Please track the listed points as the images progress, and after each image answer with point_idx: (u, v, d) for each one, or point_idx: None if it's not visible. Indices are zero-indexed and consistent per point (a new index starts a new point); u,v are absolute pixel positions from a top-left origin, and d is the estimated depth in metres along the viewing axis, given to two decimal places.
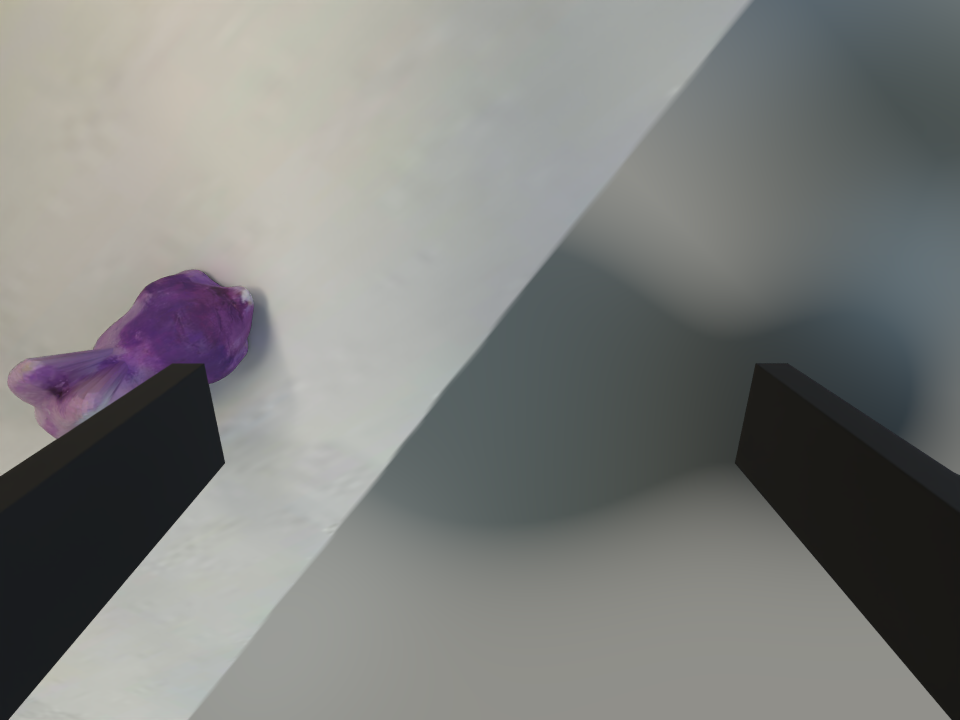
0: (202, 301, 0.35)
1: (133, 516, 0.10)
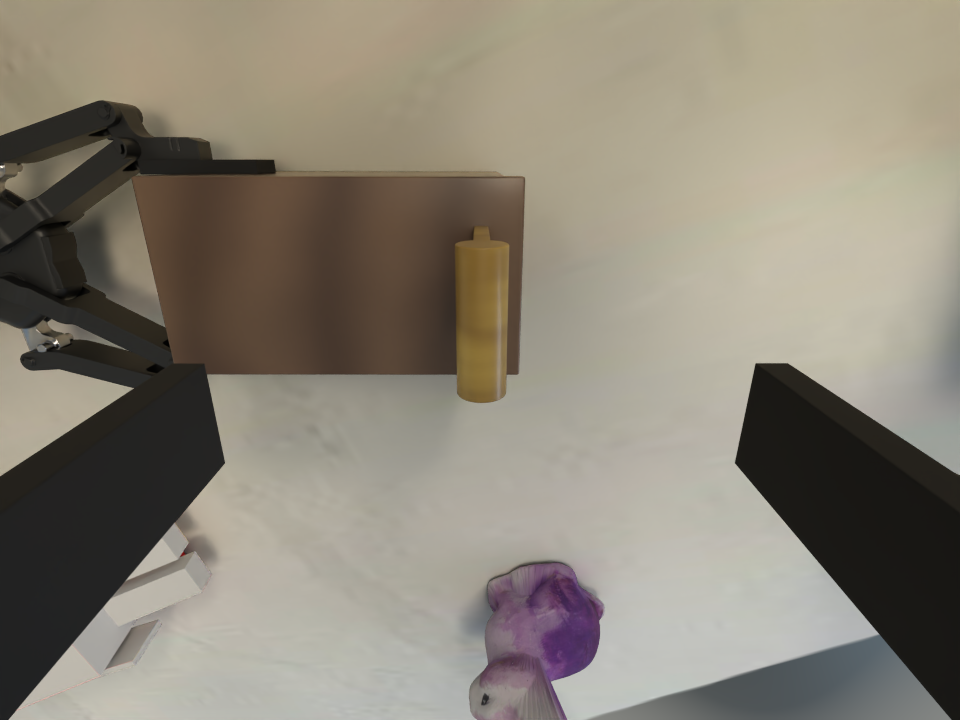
0: (596, 629, 0.44)
1: (133, 516, 0.10)
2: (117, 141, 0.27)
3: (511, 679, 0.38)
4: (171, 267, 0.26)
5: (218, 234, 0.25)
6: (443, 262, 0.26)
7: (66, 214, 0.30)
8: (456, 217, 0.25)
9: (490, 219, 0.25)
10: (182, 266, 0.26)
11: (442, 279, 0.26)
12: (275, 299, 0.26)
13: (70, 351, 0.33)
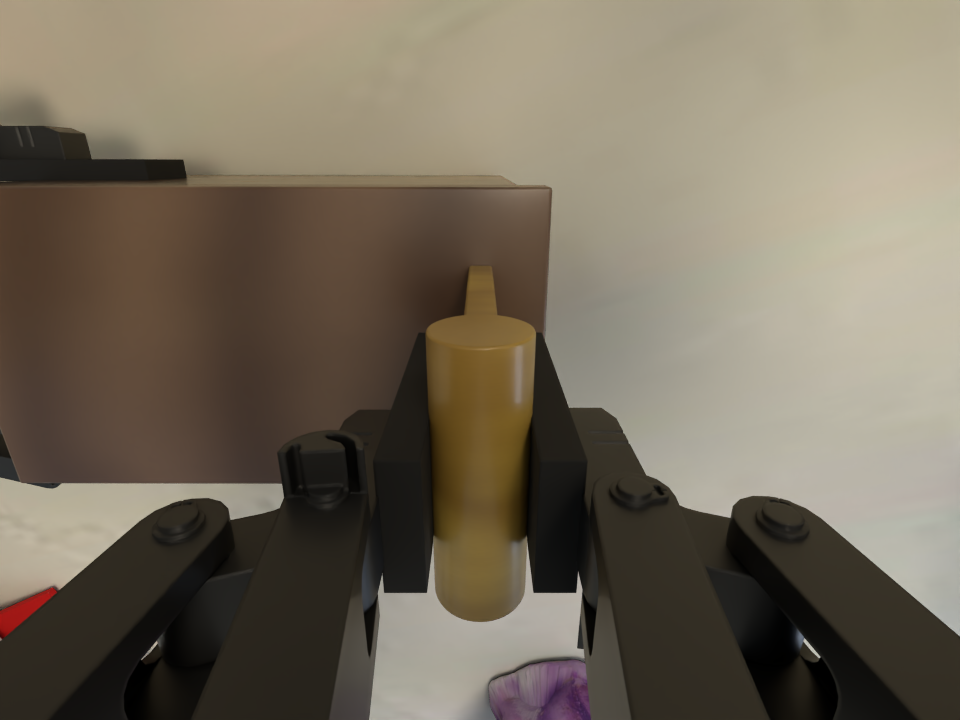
0: None
1: None
2: None
3: None
4: None
5: (61, 278, 0.16)
6: (420, 321, 0.16)
7: None
8: (440, 251, 0.15)
9: (495, 254, 0.15)
10: (9, 327, 0.16)
11: None
12: (160, 376, 0.17)
13: None
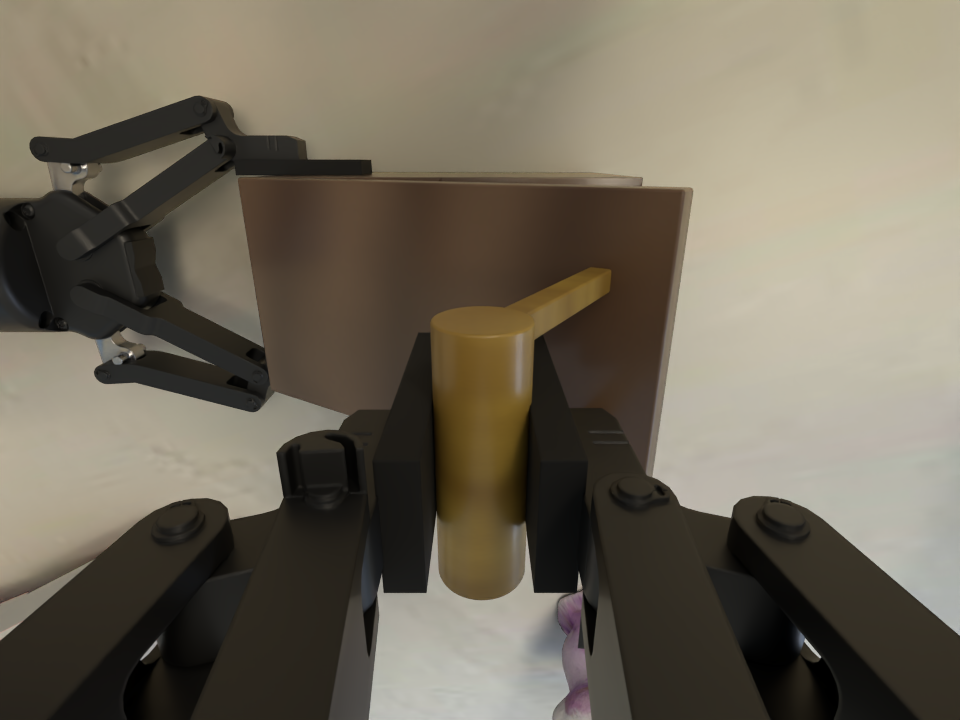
0: None
1: None
2: (215, 139, 0.25)
3: None
4: (266, 278, 0.23)
5: (302, 246, 0.21)
6: None
7: (150, 218, 0.28)
8: (563, 250, 0.16)
9: (616, 258, 0.15)
10: (274, 278, 0.23)
11: None
12: (349, 330, 0.21)
13: (147, 363, 0.31)
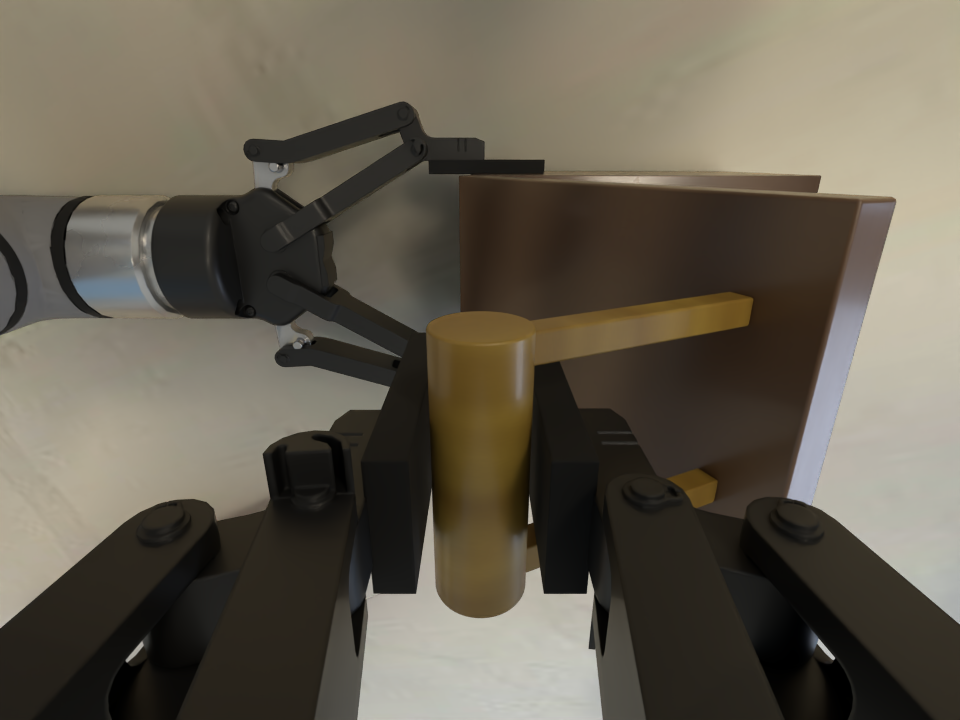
0: None
1: (430, 451, 0.12)
2: (418, 141, 0.28)
3: None
4: (467, 267, 0.26)
5: (492, 241, 0.23)
6: (672, 342, 0.14)
7: (338, 213, 0.31)
8: (704, 267, 0.13)
9: (762, 284, 0.11)
10: (472, 268, 0.25)
11: (665, 370, 0.15)
12: None
13: (322, 348, 0.33)
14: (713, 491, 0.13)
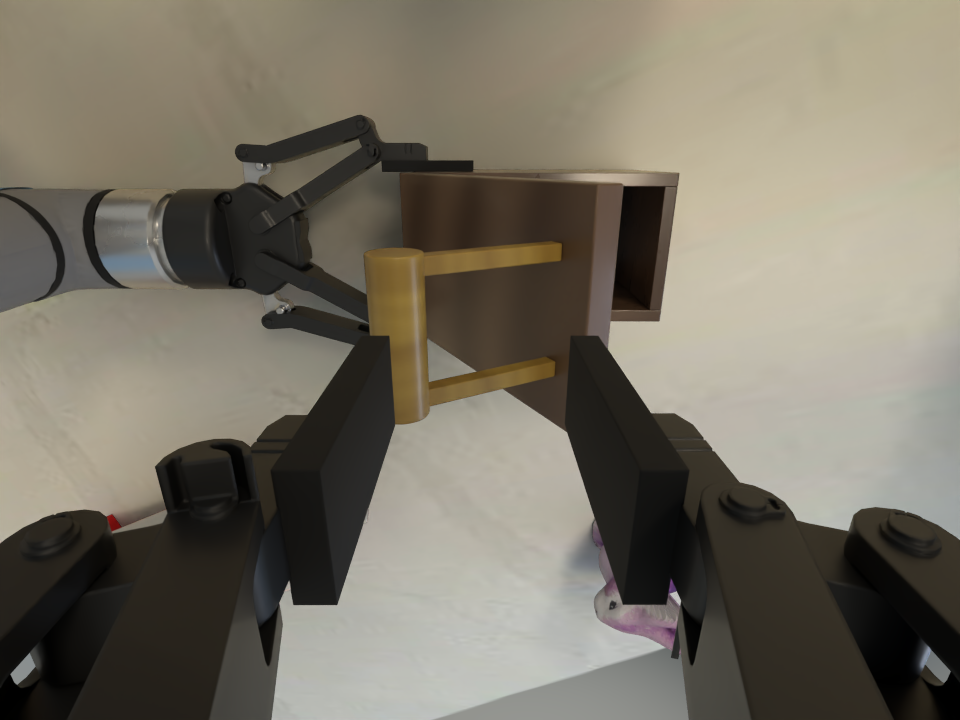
0: None
1: (370, 457, 0.11)
2: (372, 146, 0.36)
3: None
4: (408, 243, 0.33)
5: (424, 221, 0.31)
6: (528, 278, 0.22)
7: (312, 203, 0.39)
8: (539, 228, 0.21)
9: (564, 235, 0.20)
10: (411, 243, 0.33)
11: (526, 296, 0.23)
12: (442, 282, 0.30)
13: (300, 313, 0.41)
14: (552, 368, 0.22)
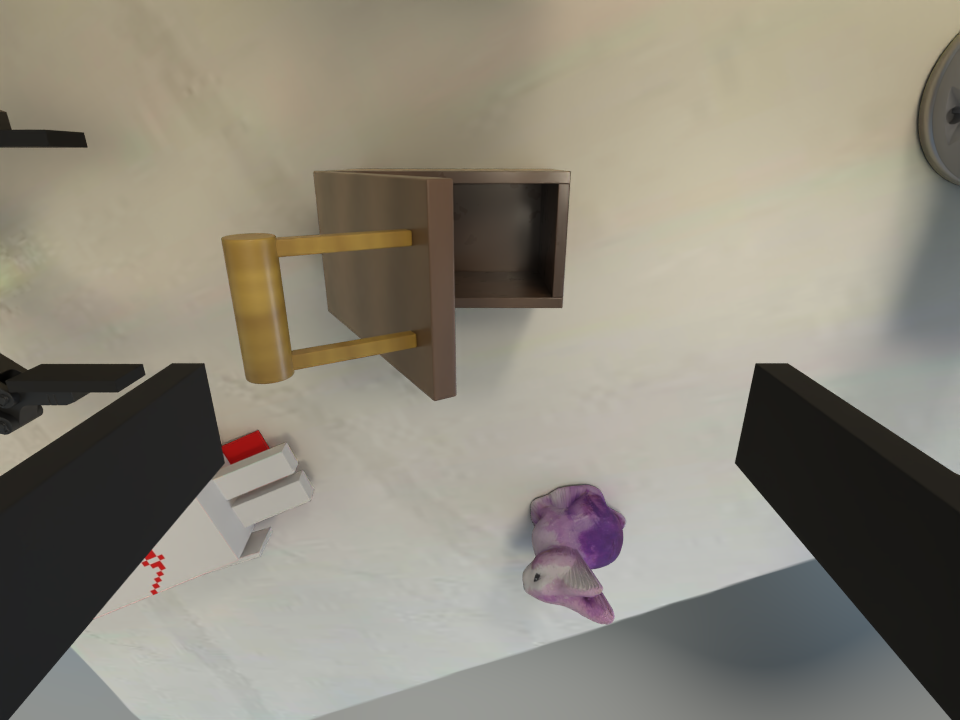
0: (620, 533, 0.55)
1: (133, 516, 0.10)
2: None
3: (557, 560, 0.50)
4: None
5: (331, 215, 0.34)
6: (395, 262, 0.26)
7: None
8: (398, 217, 0.24)
9: (412, 223, 0.23)
10: None
11: (396, 278, 0.26)
12: (346, 270, 0.33)
13: None
14: (413, 340, 0.25)
